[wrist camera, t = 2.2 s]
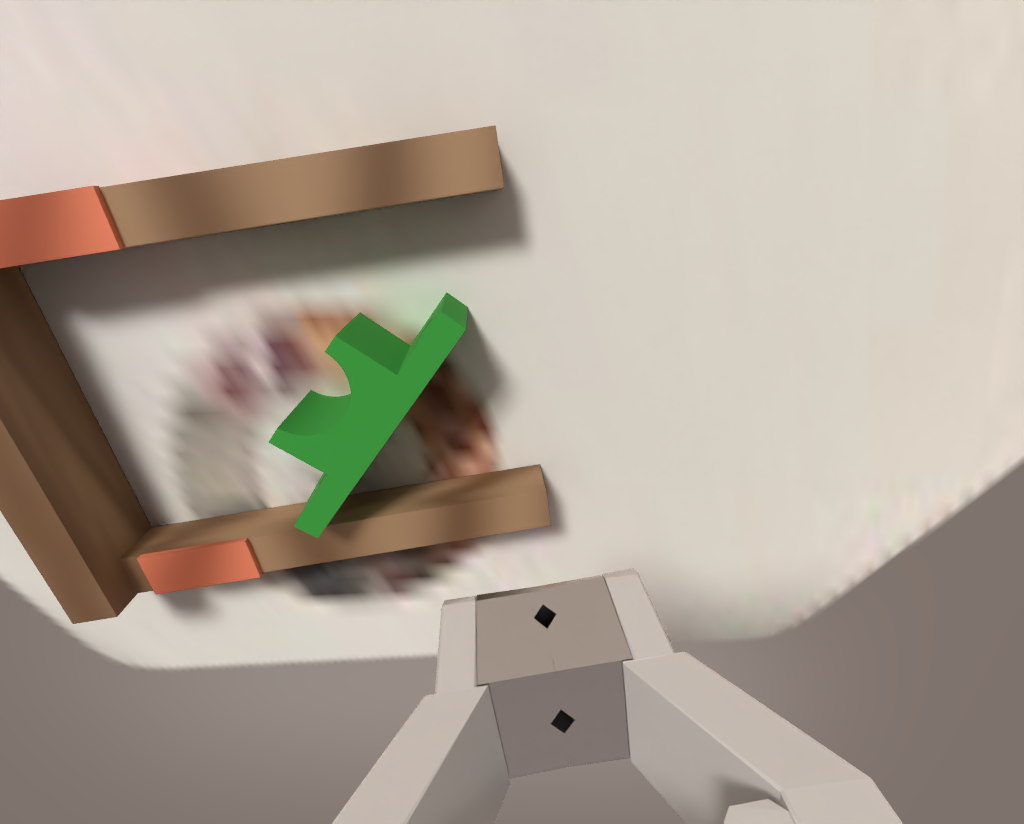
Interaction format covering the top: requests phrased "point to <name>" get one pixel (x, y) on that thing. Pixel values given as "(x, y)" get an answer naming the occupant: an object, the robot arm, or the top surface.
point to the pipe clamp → (364, 404)
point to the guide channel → (84, 449)
